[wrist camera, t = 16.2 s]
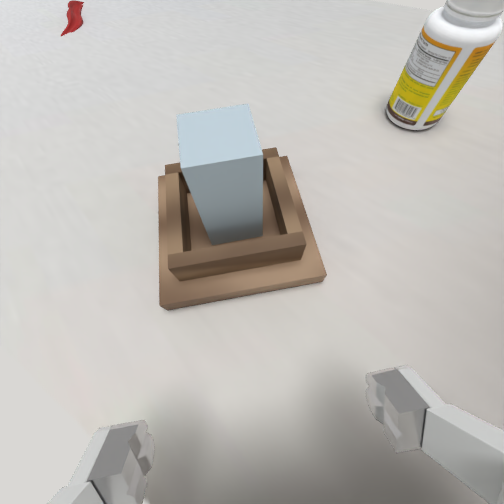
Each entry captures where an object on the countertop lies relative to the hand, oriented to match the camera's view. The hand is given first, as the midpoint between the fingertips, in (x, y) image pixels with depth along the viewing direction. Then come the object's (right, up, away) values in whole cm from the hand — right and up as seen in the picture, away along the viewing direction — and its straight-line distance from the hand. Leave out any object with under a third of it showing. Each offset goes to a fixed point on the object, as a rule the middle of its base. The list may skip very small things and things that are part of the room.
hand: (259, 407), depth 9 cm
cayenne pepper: (-29, +44, +31) cm, 61 cm away
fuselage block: (-2, +8, +11) cm, 14 cm away
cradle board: (-2, +8, +12) cm, 14 cm away
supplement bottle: (+17, +21, +18) cm, 32 cm away
